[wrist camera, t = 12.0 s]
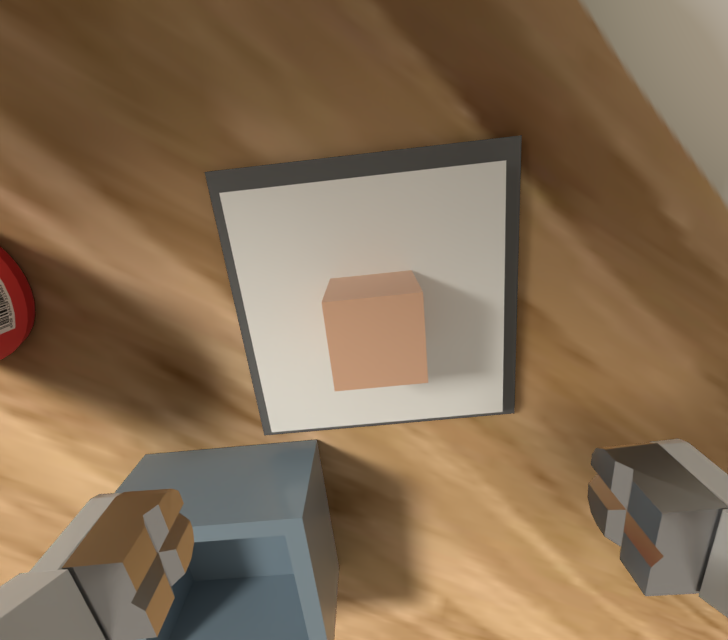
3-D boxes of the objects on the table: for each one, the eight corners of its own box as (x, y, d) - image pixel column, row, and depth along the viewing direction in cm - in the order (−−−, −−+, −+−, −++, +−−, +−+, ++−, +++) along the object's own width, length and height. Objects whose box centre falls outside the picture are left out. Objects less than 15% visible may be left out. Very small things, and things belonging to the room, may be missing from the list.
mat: (208, 172, 19) (204, 172, 19) (517, 136, 18) (521, 135, 18) (266, 430, 24) (264, 435, 24) (511, 408, 23) (514, 413, 23)
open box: (145, 454, 25) (79, 535, 19) (316, 439, 24) (302, 517, 19) (189, 578, 28) (145, 677, 23) (339, 567, 28) (332, 665, 22)
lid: (227, 192, 19) (179, 196, 14) (497, 161, 18) (545, 154, 14) (276, 420, 23) (252, 483, 18) (495, 400, 23) (531, 460, 18)
